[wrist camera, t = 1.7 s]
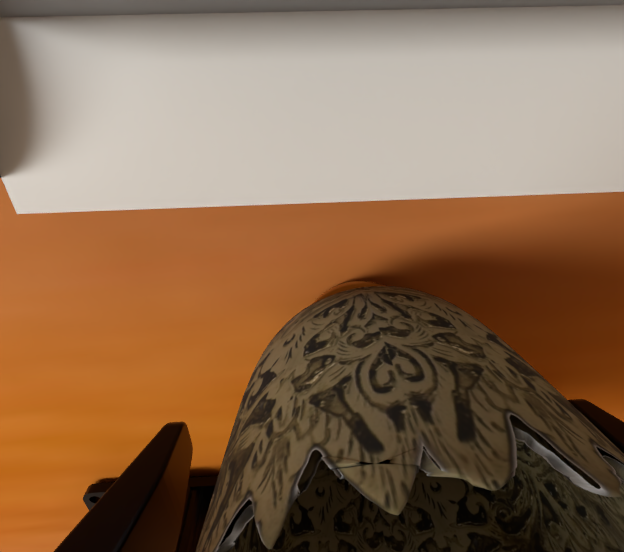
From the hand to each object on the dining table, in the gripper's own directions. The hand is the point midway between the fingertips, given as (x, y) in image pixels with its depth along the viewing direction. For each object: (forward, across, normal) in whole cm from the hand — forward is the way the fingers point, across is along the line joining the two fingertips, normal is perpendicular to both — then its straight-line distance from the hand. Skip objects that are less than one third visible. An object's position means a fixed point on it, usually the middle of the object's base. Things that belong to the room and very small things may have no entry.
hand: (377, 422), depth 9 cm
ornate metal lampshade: (+4, 0, 0) cm, 4 cm away
